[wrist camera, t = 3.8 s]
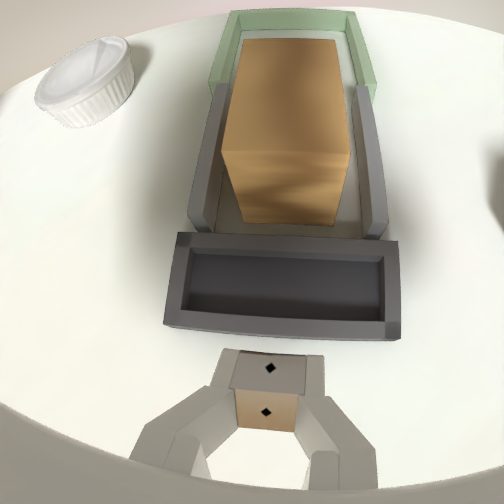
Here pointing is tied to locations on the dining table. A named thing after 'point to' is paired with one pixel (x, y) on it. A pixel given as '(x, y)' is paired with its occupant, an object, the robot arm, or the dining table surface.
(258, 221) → the oak brick
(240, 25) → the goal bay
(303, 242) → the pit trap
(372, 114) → the tunnel rails
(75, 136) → the dining table surface
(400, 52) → the dining table surface
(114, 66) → the ramekin
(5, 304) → the dining table surface
